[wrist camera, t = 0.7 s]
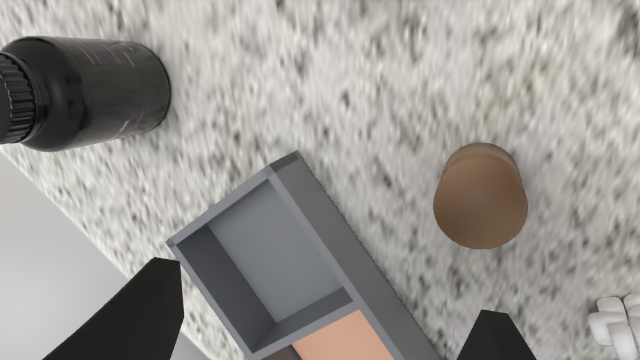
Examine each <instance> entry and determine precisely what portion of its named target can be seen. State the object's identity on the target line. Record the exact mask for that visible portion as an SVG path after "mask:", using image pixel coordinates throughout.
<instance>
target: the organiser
mask: <svg viewBox="0 0 640 360" xmlns="http://www.w3.org/2000/svg"><path fill="white" fill-rule="evenodd" d="M166 244H167V245H168V247H169V248H170V249H171V251H172V252H173V254H174V255H175V257H176V258H177V259H178V261H180V264H181V265H182V266H183V268H184V269H185V271H186V272H187V274H188V275H189V276H190V278H191V279H192V281H193V282H194V284H195V285H196V286H197V288H198V289H199V291H200V292H201V293H202V295H203V296H204V298H205V299H206V301H207V302H208V303H209V305H210V306H211V308H212V309H213V310H214V312H215V313H216V315H217V316H218V318H219V319H220V320H221V322H222V323H223V325H224V326H225V327H226V329H227V330H228V332H229V333H230V335H231V336H232V337H233V339H234V340H235V342H236V343H237V345H238V346H239V347H240V349H241V350H242V352H243V353H244V354H245V356H246V357H247V359H248V360H442V359H441V357H440V356H439V354H438V353H437V352H436V350H435V349H434V347H433V346H432V344H431V343H430V341H429V340H428V339H427V337H426V336H425V334H424V333H423V331H422V330H421V329H420V327H419V326H418V324H417V323H416V321H415V320H414V318H413V317H412V316H411V314H410V313H409V311H408V310H407V308H406V307H405V306H404V304H403V303H402V301H401V300H400V298H399V297H398V295H397V294H396V293H395V291H394V290H393V288H392V287H391V285H390V284H389V283H388V281H387V280H386V278H385V277H384V275H383V274H382V272H381V271H380V270H379V268H378V267H377V265H376V264H375V262H374V261H373V259H372V258H371V257H370V255H369V254H368V252H367V251H366V249H365V248H364V247H363V245H362V244H361V242H360V241H359V239H358V238H357V236H356V235H355V234H354V232H353V231H352V229H351V228H350V226H349V225H348V224H347V222H346V221H345V219H344V218H343V216H342V215H341V213H340V212H339V211H338V209H337V208H336V206H335V205H334V203H333V202H332V200H331V199H330V198H329V196H328V195H327V193H326V192H325V190H324V189H323V188H322V186H321V185H320V183H319V182H318V180H317V179H316V177H315V176H314V175H313V173H312V172H311V170H310V169H309V167H308V166H307V165H306V163H305V162H304V160H303V159H302V157H301V156H300V154H299V153H298V152H297V151H295V152H293V153H291V154H289V155H287V156H285V157H283V158H281V159H279V160H277V161H275V162H273V163H271V164H269V165H268V166H266V167H265V168H264V169H262V170H261V171H260V172H258V173H257V174H256V175H254V176H253V177H252V178H250V179H249V180H248V181H246V182H245V183H244V184H242V185H241V186H240V187H238V188H237V189H235V190H234V191H233V192H231V193H230V194H229V195H227V196H226V197H225V198H223V199H222V200H221V201H219V202H218V203H217V204H215V205H214V206H213V207H211V208H210V209H209V210H207V211H206V212H205V213H203V214H202V215H201V216H199V217H198V218H196V219H195V220H194V221H192V222H191V223H190V224H188V225H187V226H186V227H184V228H183V229H182V230H180V231H179V232H178V233H176V234H175V235H174V236H172V237H171V238H170V239H168V240H167V241H166Z"/></svg>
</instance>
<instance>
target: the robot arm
mask: <svg viewBox="0 0 640 360" xmlns="http://www.w3.org/2000/svg"><path fill="white" fill-rule="evenodd" d="M183 319H184V307H183V295H182V282H181V270H180V261H175V260H169V259H163V258H157V257H154V258H153V259H151V260H150V261H149V262H148V263H147V264H146V265H145V266H144V267H143V268H142V269H141V270H140V271H139V272H138V273H137V274H136V275H135V276H134V277H133V278H132V279H131V280H130V281H129V282H128V283H127V284H126V285H125V286H124V287H123V288H122V289H121V290H120V291H119V292H118V293H117V294H116V295H115V296H114V297H113V298H111V299H110V300H109V301H108V302H107V303H106V304H105V305H104V306H103V307H102V308H101V309H100V310H99V311H98V312H96V313H95V314H94V315H93V316H92V317H91V318H90V319H89V320H88V321H87V322H86V323H85V324H83V325H82V326H81V327H80V328H79V329H78V330H77V331H75V332H74V333H73V334H72V335H71V336H70V337H68V338H67V339H66V340H65V341H64V342H62V343H61V344H60V345H59V346H58V347H56V348H55V349H54V350H53V351H52V352H51V353H49V354H48V355H47V356H46V357H45V358H44V359H42V360H170V358H171V355H172V352H173V349H174V346H175V343H176V340H177V337H178V334H179V331H180V328H181V325H182V322H183ZM457 360H537V359H536V358H535V356H534V355H533V353H532V351H531V350H530V348H529V347H528V345H527V343H526V342H525V340H524V339H523V337H522V335H521V334H520V332H519V331H518V329H517V328H516V326H515V324H514V323H513V321H512V320H511V318H510V317H509V315H508V314H507V313H501V312H495V311H488V310H481V312H480V314H479V316H478V318H477V320H476V322H475V324H474V326H473V328H472V330H471V332H470V334H469V336H468V338H467V340H466V342H465V344H464V346H463V348H462V350H461V352H460V354H459V356H458V358H457Z"/></svg>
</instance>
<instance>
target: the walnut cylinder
mask: <svg viewBox="0 0 640 360" xmlns="http://www.w3.org/2000/svg"><path fill="white" fill-rule="evenodd" d="M433 209H434V215H435V219H436V221H437V223H438V225H439V227H440V228H441V230H442V231H443V232H444V233H445V234H446V235H447V236H448V237H449V238H450V239H451V240H453V241H454V242H456V243H458V244H460V245H462V246H465V247H468V248H473V249H491V248H495V247H499V246H501V245H503V244H505V243H507V242H509V241H510V240H511V239H513V238H514V237H515V236H516V235H517V234H518V233H519V231H520V230H521V229H522V227H523V225H524V223H525V220H526V217H527V211H528V204H527V198H526V195H525V191H524V188H523V185H522V181H521V178H520V175H519V171H518V168H517V165H516V163H515V161H514V160H513V158H512V157H511V156H510V155H509V154H508V153H507V152H506V151H505V150H503V149H502V148H500V147H498V146H496V145H493V144H489V143H473V144H469V145H466V146H464V147H462V148H460V149H458V150H457V151H456V152H455V153H453V154H452V155H451V157H450V158H449V159H448V161H447V163H446V165H445V167H444V170H443V173H442V176H441V179H440V182H439V184H438V187H437V190H436V193H435V197H434V202H433Z"/></svg>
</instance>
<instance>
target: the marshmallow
mask: <svg viewBox="0 0 640 360" xmlns="http://www.w3.org/2000/svg"><path fill="white" fill-rule="evenodd" d="M624 304H625V308H626V311H627V315H628V318H629V322H630V325H631V328H632V332H633V335H634V339H635V342H636V346H637V348H638V349H639V351H640V292H639V293H632V294H629V295H627V296H626V297H625V298H624ZM597 306H598V310H599V312H598V313H591V314H590V315H589V316H588V317H587V319H588V322H589V325H590V329H591V332H592V335H593V339H594V342H595V343H597V344H600V345H610V346H613V348H614V351H615V353H616V356H617V358H619V359H621V360H635V359H637V357H638V353H637V349H636V346H635V342H634V339H633V335H632V332H631V329H630V326H629V323H628V319H627V316H626V312H625V309H624V305H623V303H622V302H621V300H620V299H619V298H617V297H606V298H601V299H600V300H598V301H597Z"/></svg>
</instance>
